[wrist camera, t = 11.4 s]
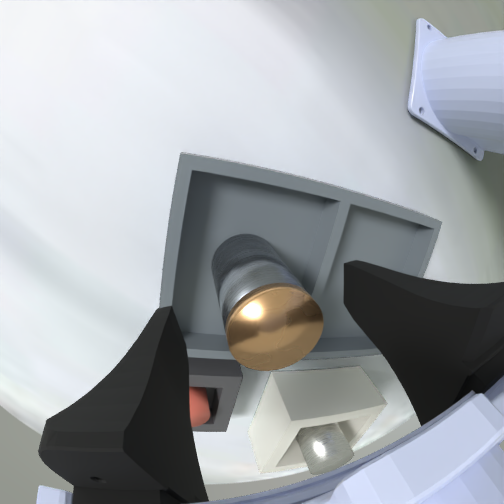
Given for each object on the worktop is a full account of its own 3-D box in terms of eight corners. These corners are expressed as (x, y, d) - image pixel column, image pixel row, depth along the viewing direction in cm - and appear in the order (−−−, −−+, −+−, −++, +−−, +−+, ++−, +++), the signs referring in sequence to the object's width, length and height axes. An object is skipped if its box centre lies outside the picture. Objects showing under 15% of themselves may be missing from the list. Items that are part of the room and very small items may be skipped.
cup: (360, 365, 21) (387, 403, 17) (325, 423, 24) (343, 457, 20) (271, 371, 19) (291, 420, 15) (247, 431, 21) (259, 473, 17)
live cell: (269, 226, 14) (320, 278, 9) (280, 283, 16) (325, 353, 10) (203, 244, 14) (216, 309, 9) (220, 301, 15) (240, 380, 10)
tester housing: (235, 349, 17) (242, 376, 15) (220, 406, 19) (225, 431, 17) (140, 341, 16) (136, 369, 14) (141, 401, 18) (140, 427, 15)
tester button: (209, 379, 16) (212, 402, 15) (204, 405, 17) (207, 428, 15) (164, 376, 16) (164, 400, 14) (163, 403, 17) (163, 426, 15)
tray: (422, 213, 17) (442, 221, 15) (373, 338, 20) (386, 353, 18) (181, 152, 13) (180, 153, 11) (158, 331, 16) (156, 353, 14)
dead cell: (330, 392, 21) (362, 447, 15) (315, 416, 22) (341, 468, 16) (293, 396, 20) (321, 457, 14) (281, 421, 21) (303, 478, 15)
